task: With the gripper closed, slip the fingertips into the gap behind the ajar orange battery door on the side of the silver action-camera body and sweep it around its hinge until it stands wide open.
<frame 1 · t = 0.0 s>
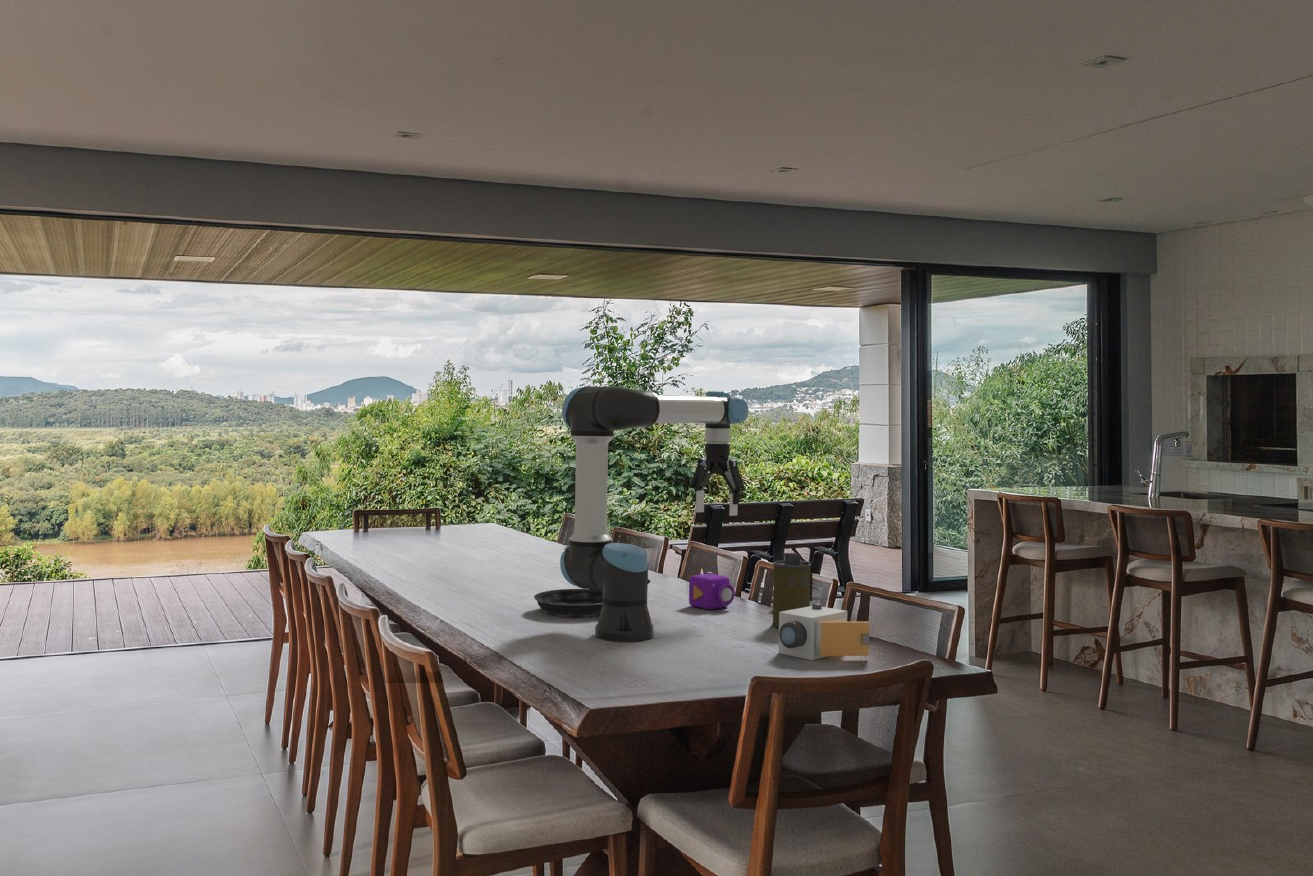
hand: (716, 513, 320), 28 cm above the table, tool pointing down, fingers open, 13 cm apart
sunglasses case: (795, 618, 307), on the table
camera body: (812, 652, 260), on the table
frying pan: (593, 610, 314), on the table
canister: (791, 626, 293), on the table
toy camera: (713, 608, 319), on the table
battery door: (842, 639, 252), point 5 cm above the table, hinge at 40.0°
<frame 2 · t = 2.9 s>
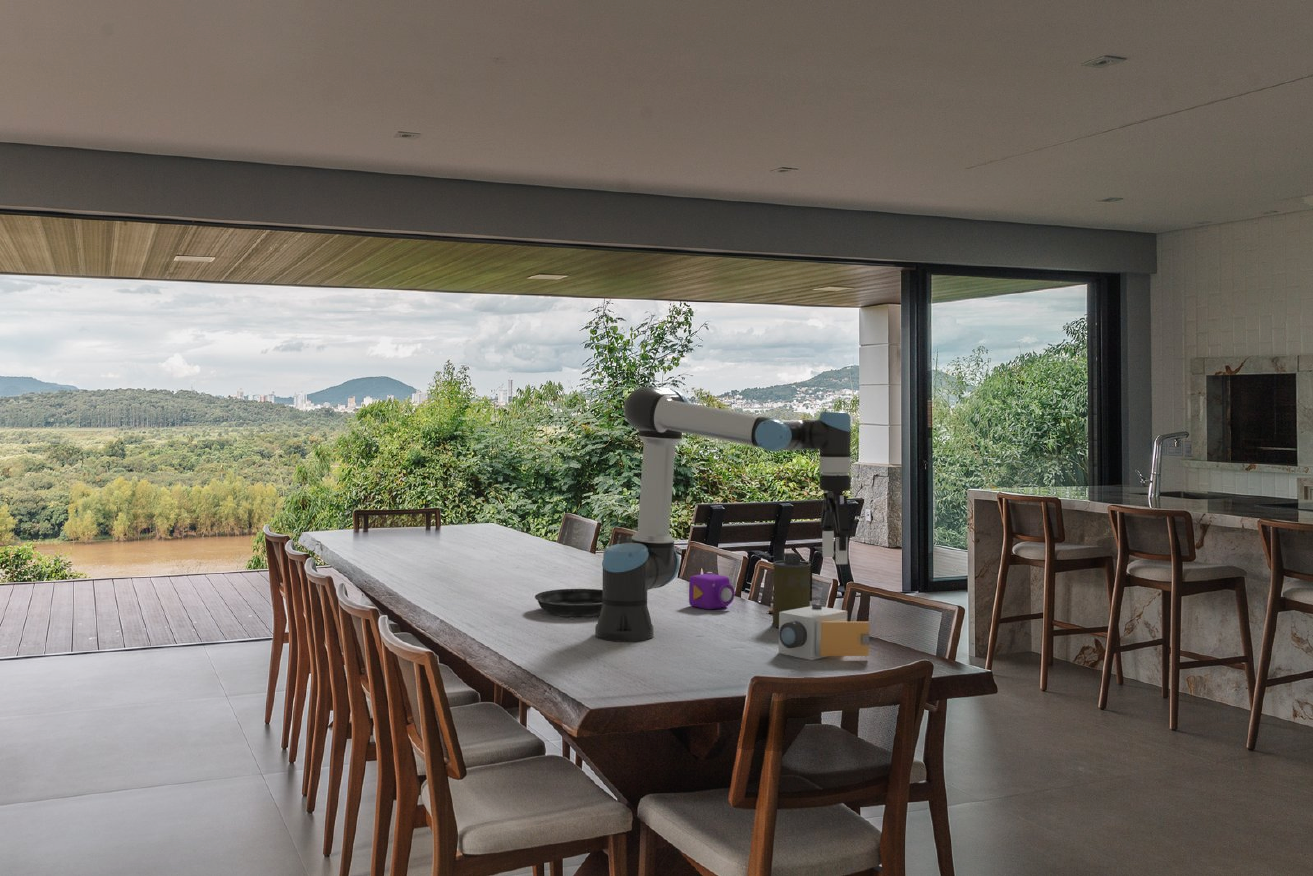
hand: (834, 560, 263), 22 cm above the table, tool pointing down, fingers open, 13 cm apart
sunglasses case: (792, 619, 307), on the table
everything else where it was.
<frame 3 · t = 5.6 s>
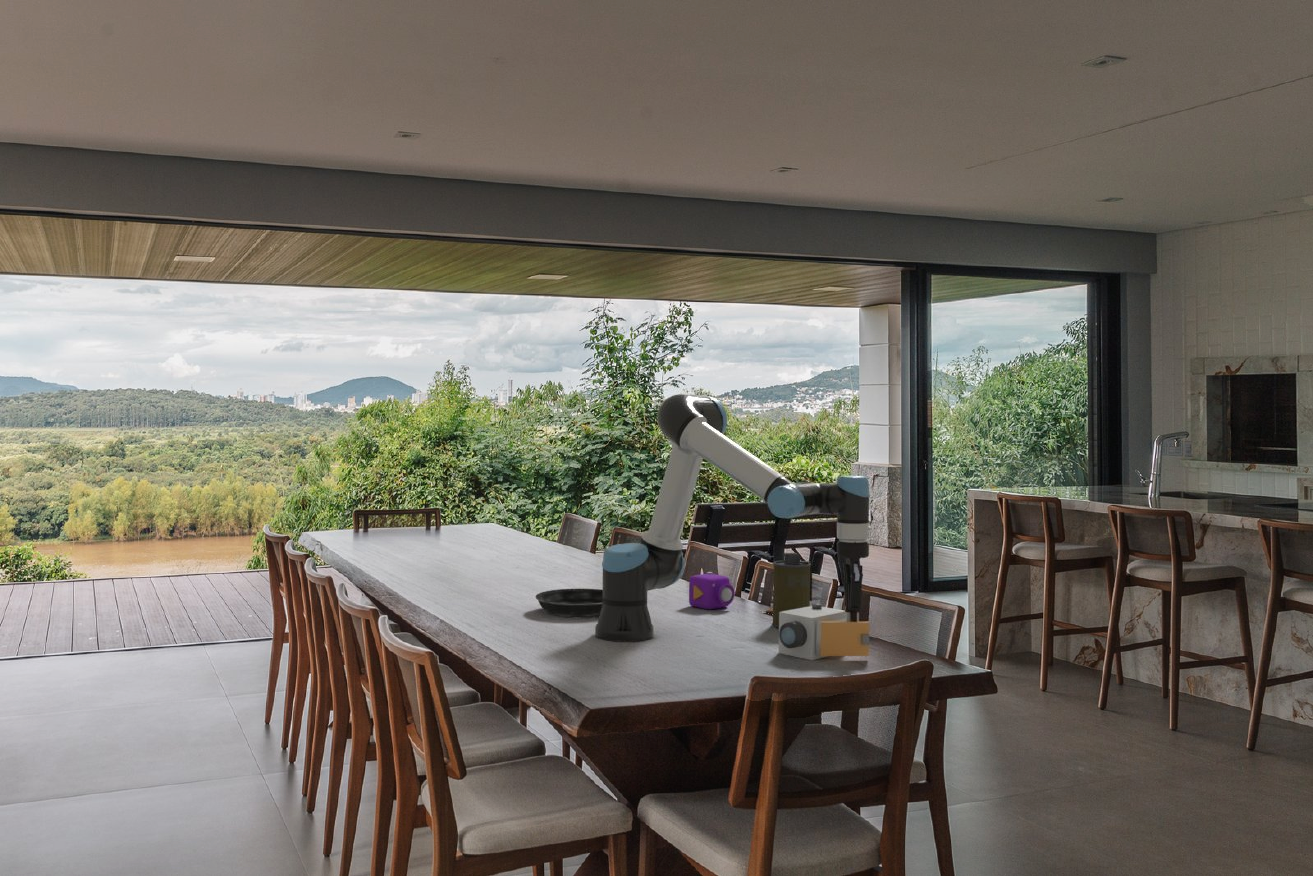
hand: (852, 638, 256), 4 cm above the table, tool pointing down, fingers closed
battery door: (842, 639, 252), point 5 cm above the table, hinge at 40.3°, touching gripper
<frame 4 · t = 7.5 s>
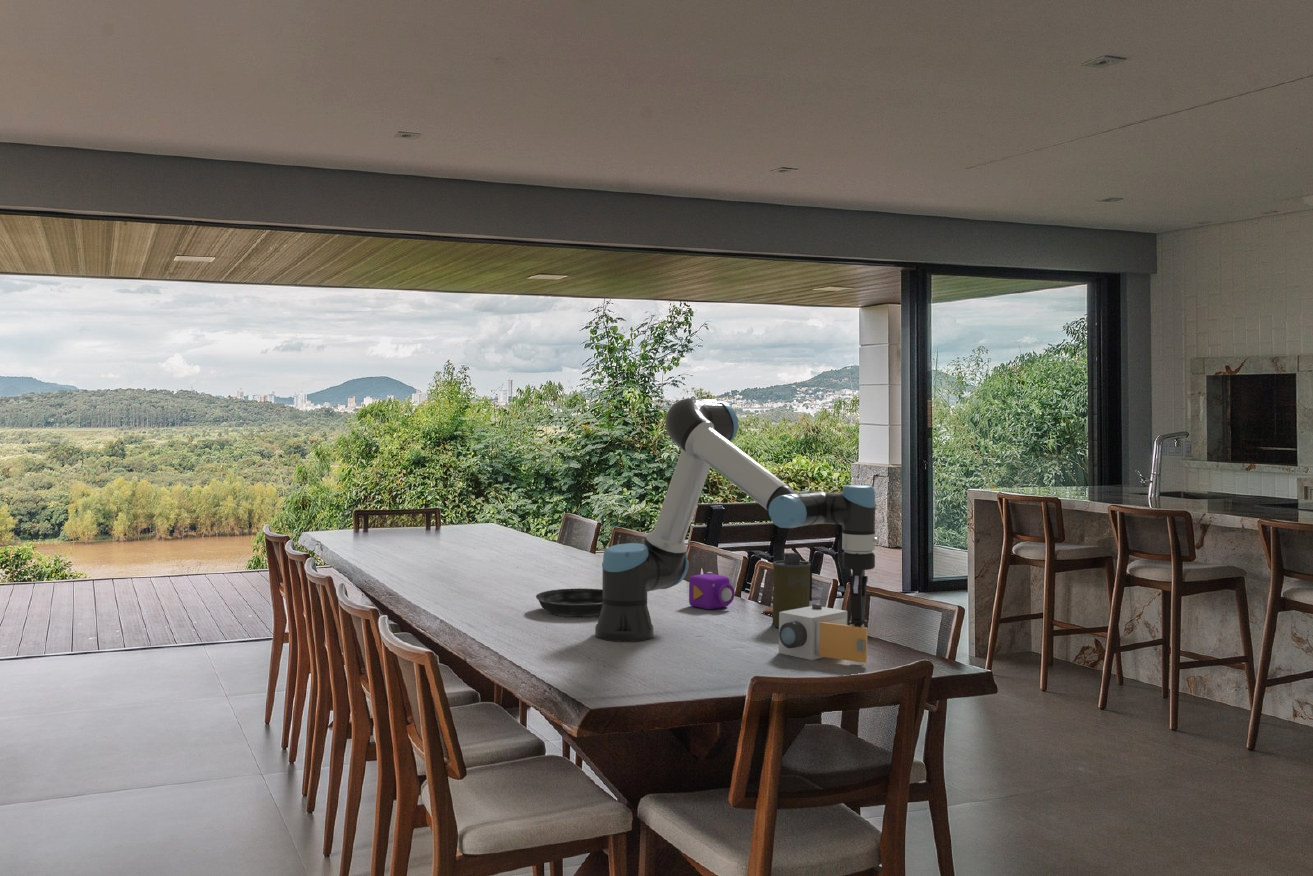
hand: (857, 651, 251), 3 cm above the table, tool pointing down, fingers closed
battery door: (840, 642, 249), point 5 cm above the table, hinge at 77.3°, touching gripper
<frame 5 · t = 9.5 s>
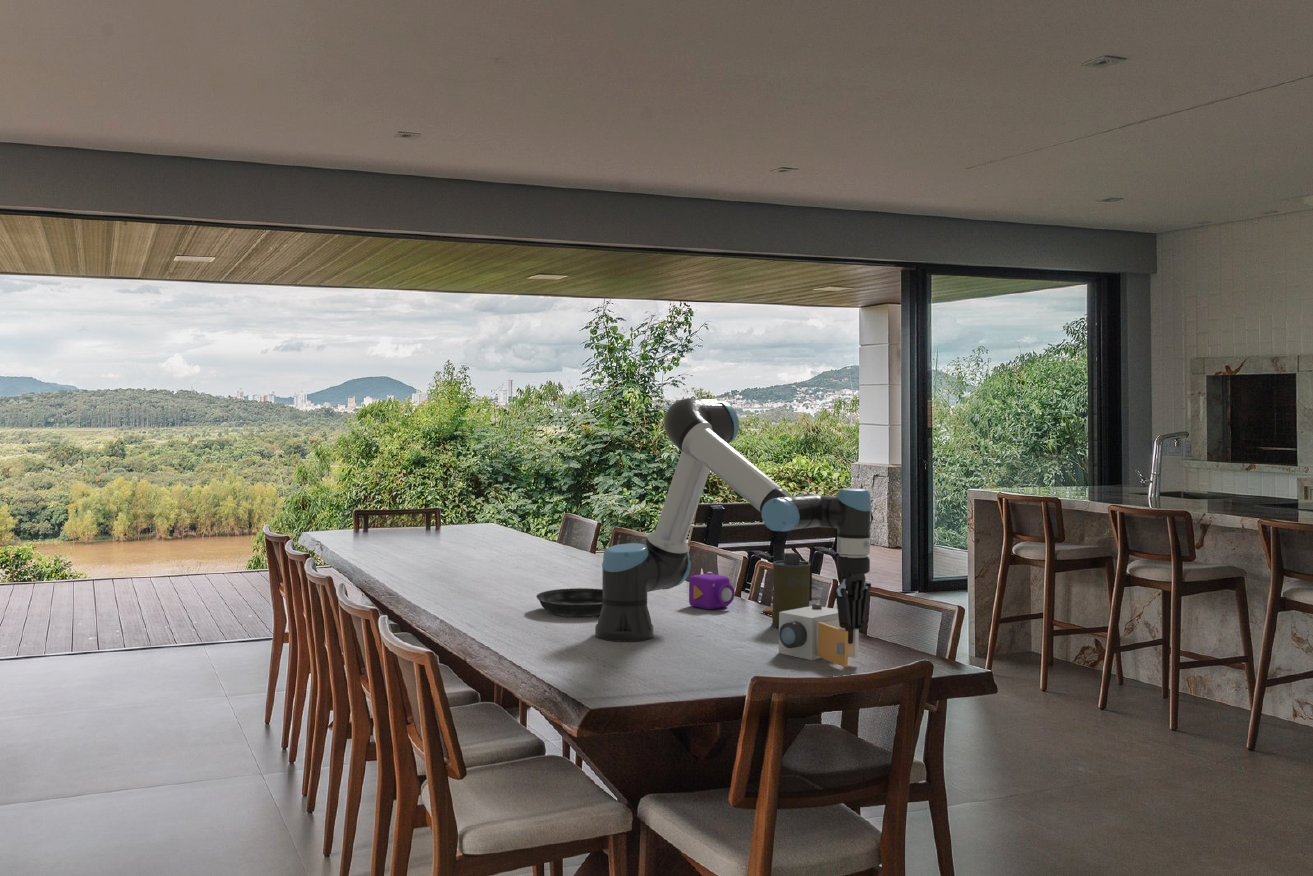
hand: (851, 656, 248), 2 cm above the table, tool pointing down, fingers closed
battery door: (829, 643, 247), point 5 cm above the table, hinge at 111.8°
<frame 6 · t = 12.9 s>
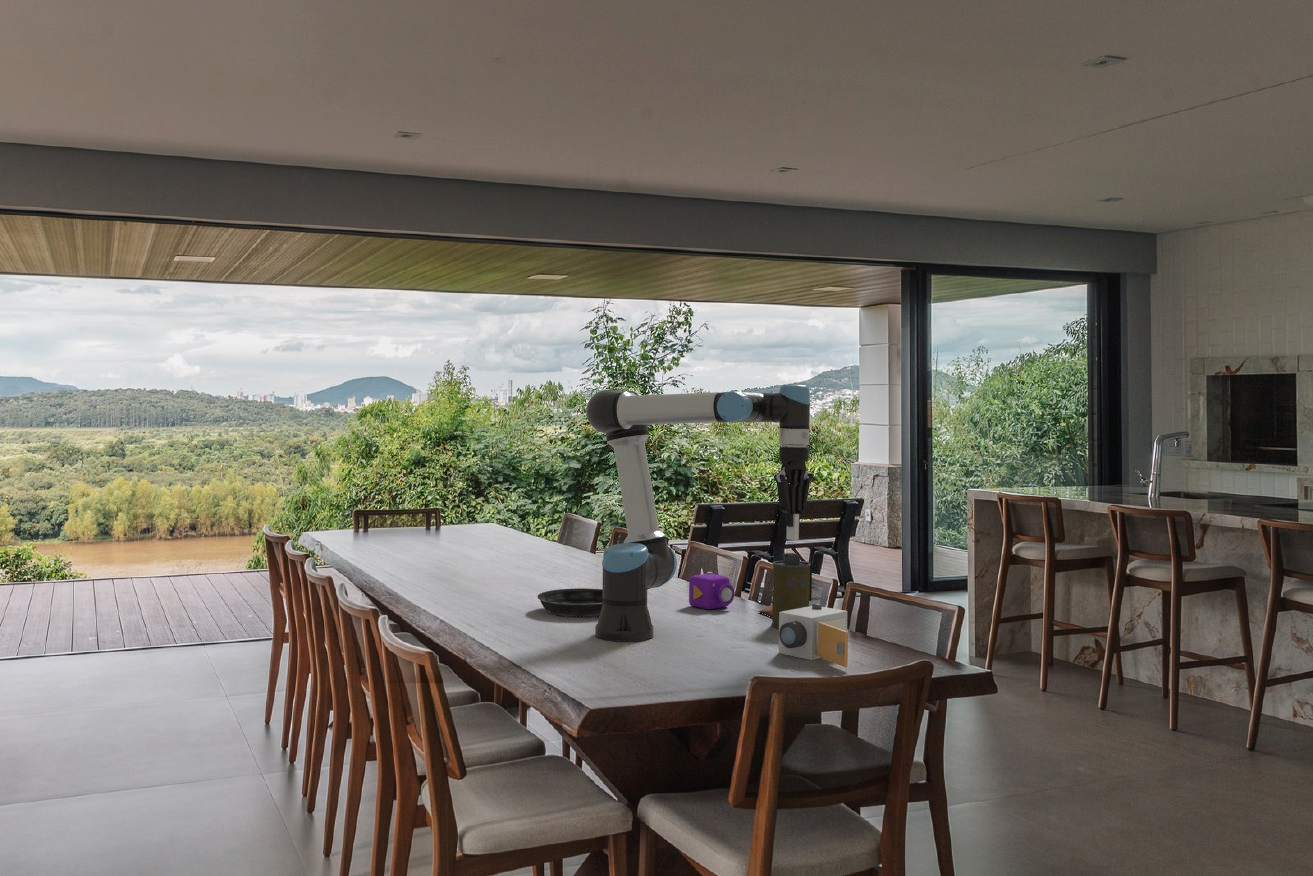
hand: (792, 539, 270), 26 cm above the table, tool pointing down, fingers closed
sunglasses case: (782, 619, 306), on the table
at the end: battery door at +112° (first picture: +40°); battery door touching nothing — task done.
